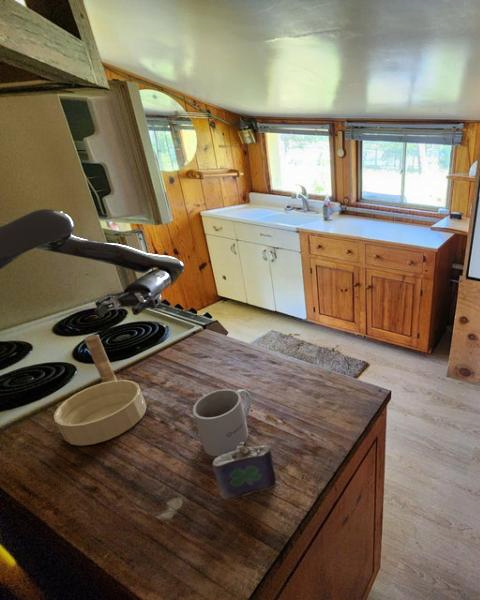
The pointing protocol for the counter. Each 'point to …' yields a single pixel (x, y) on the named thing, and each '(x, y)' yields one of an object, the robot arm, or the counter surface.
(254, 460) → the flask
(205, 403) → the mug
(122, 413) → the bowl
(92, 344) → the stick
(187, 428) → the counter surface
